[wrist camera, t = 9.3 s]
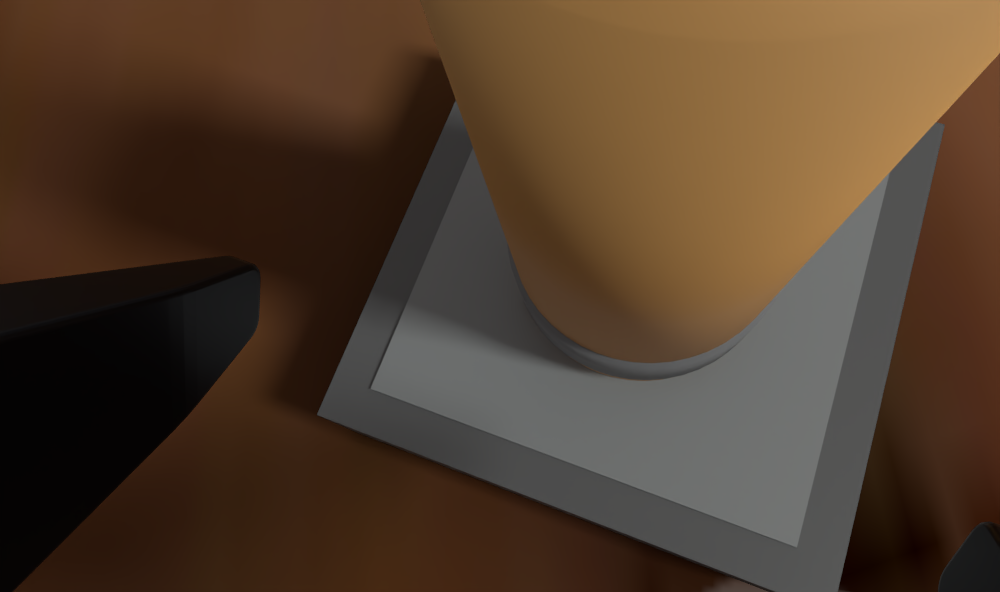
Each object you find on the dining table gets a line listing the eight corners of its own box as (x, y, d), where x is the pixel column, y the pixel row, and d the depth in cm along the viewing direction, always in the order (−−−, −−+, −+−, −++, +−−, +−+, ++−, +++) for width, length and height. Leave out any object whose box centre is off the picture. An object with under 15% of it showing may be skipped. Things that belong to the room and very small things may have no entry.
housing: (623, 437, 16) (789, 100, 2) (471, 248, 18) (20, -628, 4) (820, 281, 17) (2047, -868, 3) (654, 110, 18) (846, -1159, 4)
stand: (789, 599, 18) (834, 614, 15) (352, 430, 20) (315, 414, 17) (892, 179, 21) (946, 122, 18) (504, 74, 23) (495, 7, 20)
